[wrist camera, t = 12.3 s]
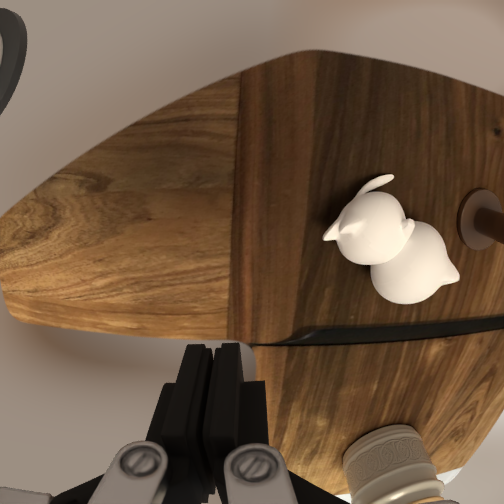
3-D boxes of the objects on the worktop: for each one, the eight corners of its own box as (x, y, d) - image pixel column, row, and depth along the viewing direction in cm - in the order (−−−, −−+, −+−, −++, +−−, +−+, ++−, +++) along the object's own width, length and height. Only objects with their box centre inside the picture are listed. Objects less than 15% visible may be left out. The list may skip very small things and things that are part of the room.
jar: (325, 469, 41) (343, 561, 24) (372, 417, 38) (411, 520, 21) (386, 473, 43) (412, 550, 26) (432, 425, 39) (475, 506, 22)
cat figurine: (357, 231, 21) (455, 318, 22) (398, 134, 24) (478, 220, 26) (300, 255, 29) (389, 321, 30) (345, 172, 32) (420, 239, 34)
